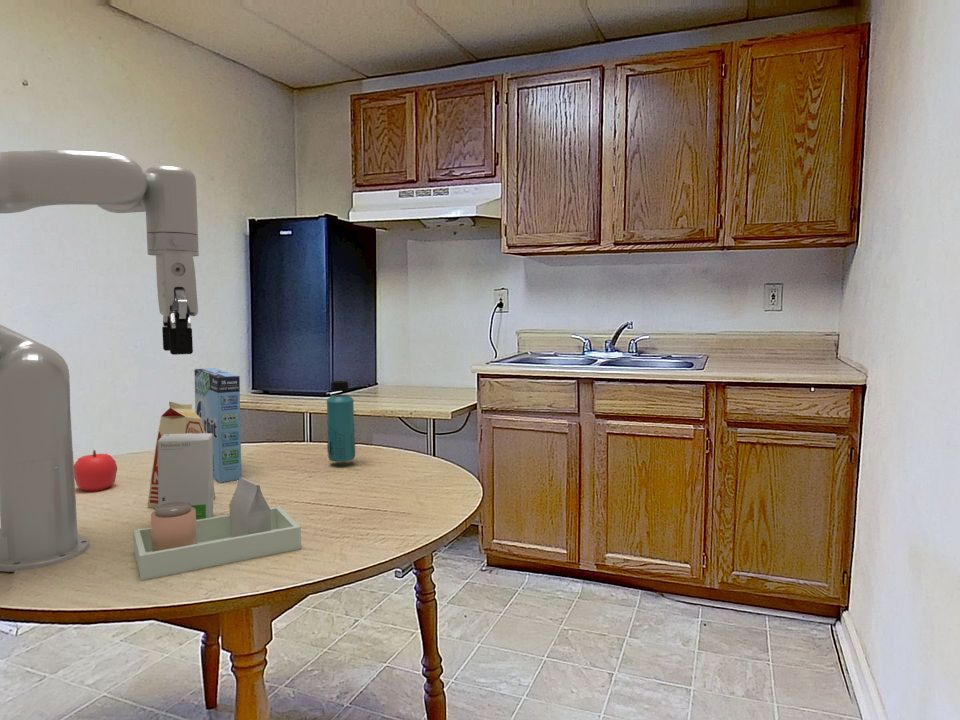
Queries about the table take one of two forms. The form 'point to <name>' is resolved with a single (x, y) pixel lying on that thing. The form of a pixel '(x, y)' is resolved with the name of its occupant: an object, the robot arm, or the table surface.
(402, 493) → the table surface
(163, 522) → the jar
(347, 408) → the beverage bottle
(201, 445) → the skincare box
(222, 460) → the gum box
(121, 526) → the table surface
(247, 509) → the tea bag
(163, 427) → the milk carton
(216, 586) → the table surface
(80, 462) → the apple
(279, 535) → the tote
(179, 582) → the table surface
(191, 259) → the robot arm
